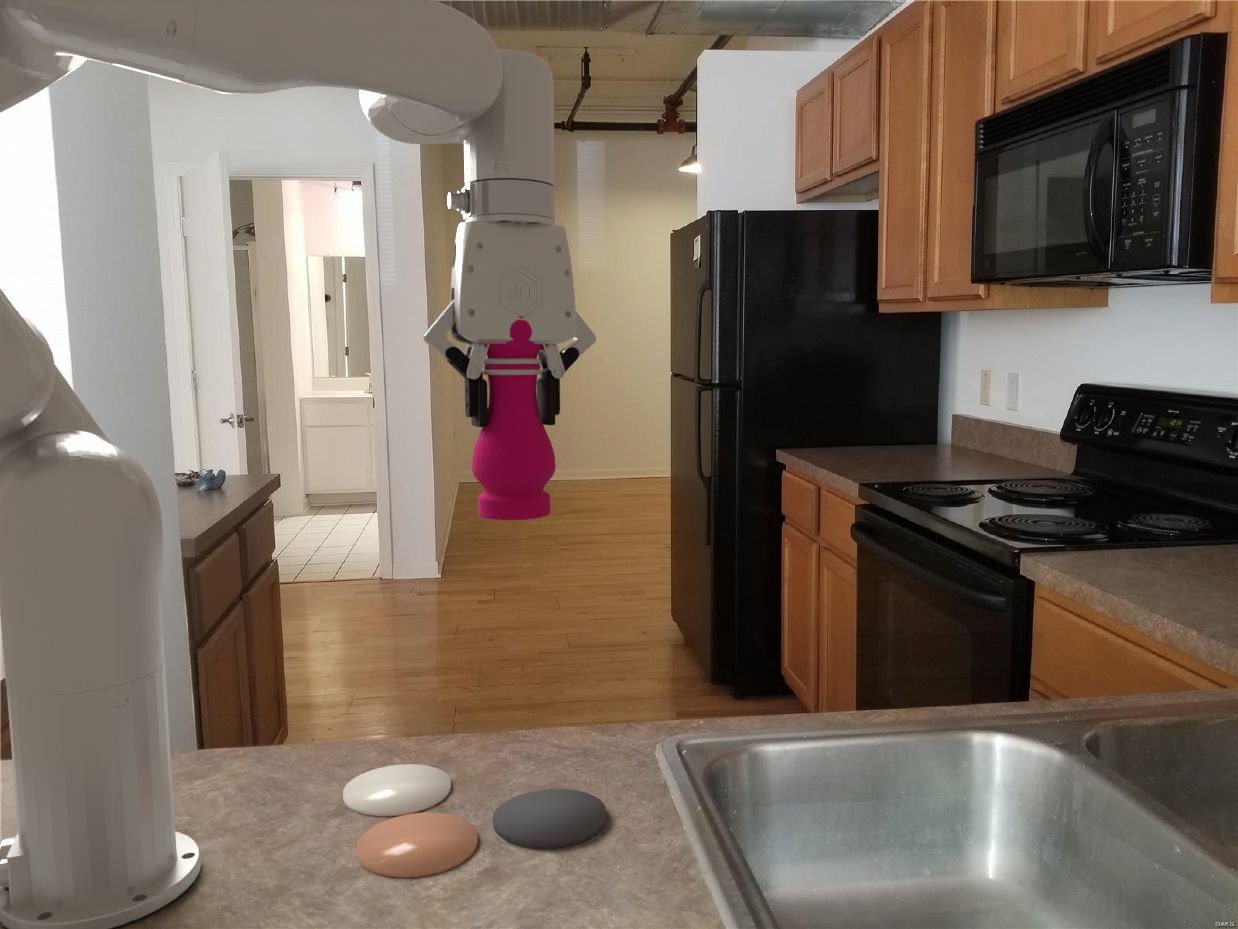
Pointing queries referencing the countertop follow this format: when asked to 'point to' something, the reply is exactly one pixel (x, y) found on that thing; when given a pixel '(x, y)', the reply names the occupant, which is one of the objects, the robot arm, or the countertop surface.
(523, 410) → the pepper mill
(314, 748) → the countertop surface
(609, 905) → the countertop surface
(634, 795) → the countertop surface
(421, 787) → the cream oval dome
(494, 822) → the dark gray oval dome
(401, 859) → the peach oval dome
